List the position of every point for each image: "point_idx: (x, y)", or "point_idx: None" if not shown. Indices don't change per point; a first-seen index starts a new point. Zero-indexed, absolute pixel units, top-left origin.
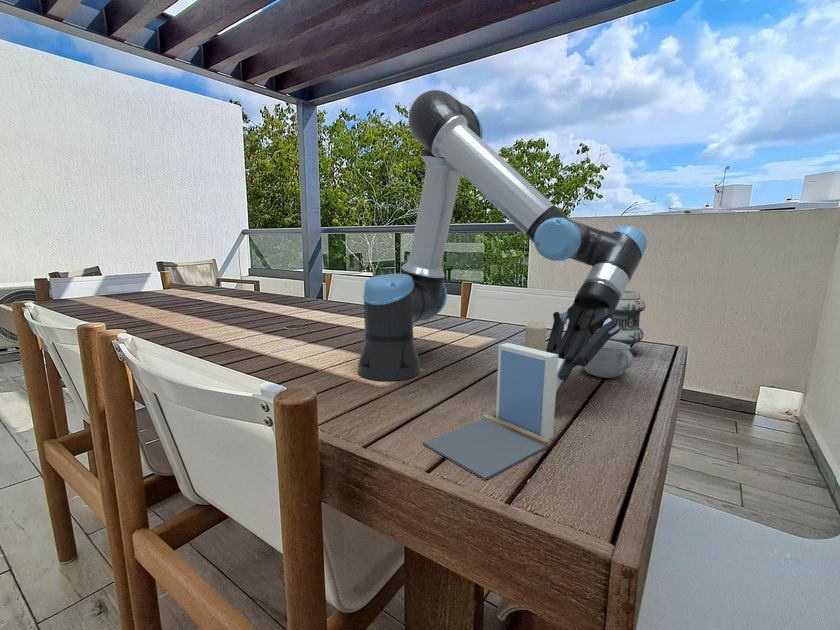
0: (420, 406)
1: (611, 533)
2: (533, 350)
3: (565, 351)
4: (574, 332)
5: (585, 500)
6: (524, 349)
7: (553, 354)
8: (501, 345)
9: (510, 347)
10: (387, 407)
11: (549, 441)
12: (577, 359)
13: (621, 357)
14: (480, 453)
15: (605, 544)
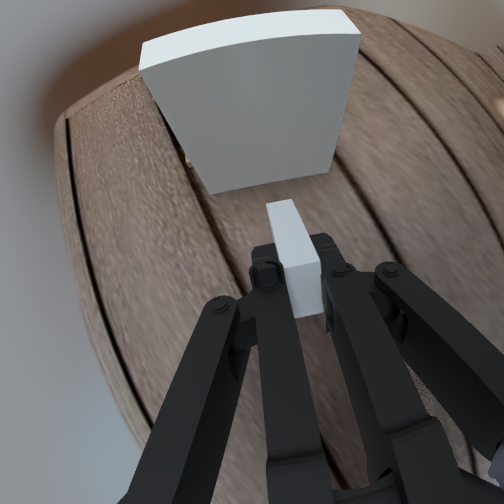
0: (418, 93)
1: (69, 124)
2: (225, 35)
3: (337, 335)
4: (374, 440)
5: (97, 130)
6: (252, 23)
7: (150, 59)
8: (331, 10)
9: (297, 12)
10: (421, 65)
11: (186, 160)
12: (225, 297)
13: None
14: None
15: (70, 114)
